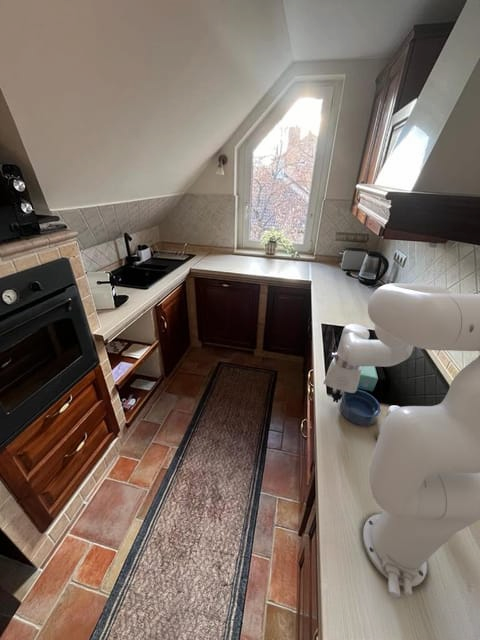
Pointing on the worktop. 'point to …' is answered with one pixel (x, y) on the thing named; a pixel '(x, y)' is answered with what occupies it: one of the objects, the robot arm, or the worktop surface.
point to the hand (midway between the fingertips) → (335, 399)
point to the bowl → (360, 407)
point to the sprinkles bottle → (387, 415)
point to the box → (368, 378)
